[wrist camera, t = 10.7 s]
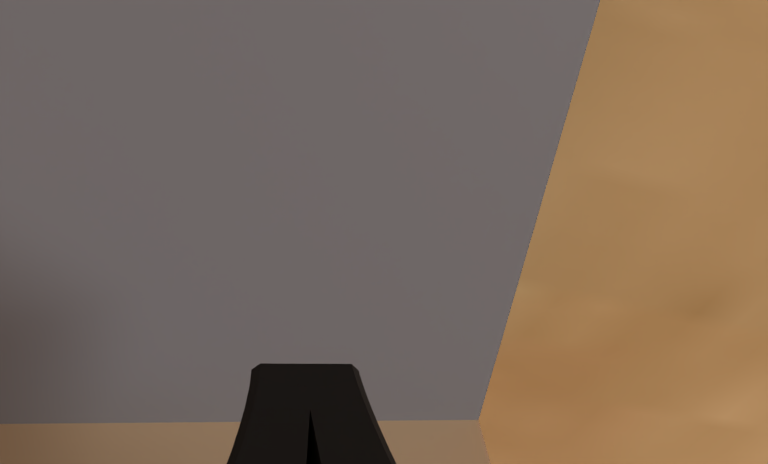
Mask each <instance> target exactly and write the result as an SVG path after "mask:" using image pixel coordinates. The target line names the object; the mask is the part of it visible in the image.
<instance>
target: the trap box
mask: <svg viewBox="0 0 768 464" xmlns="http://www.w3.org/2000/svg"><path fill="white" fill-rule="evenodd" d="M599 2H600V0H0V464H227V461H228V459H229V456H230V454H231V451H232V448H233V445H234V441H235V438H236V435H237V432H238V429H239V426H240V423H241V419H242V416H243V412H244V408H245V404H246V400H247V395H248V391H249V385H250V377H251V370H252V369H253V368H255V367H256V366H257V365H259V364H260V363H271V364H352V365H353V366H354V367H355V368H357V369H358V370H359V374H360V377H361V380H362V383H363V386H364V389H365V392H366V394H367V397H368V400H369V402H370V405H371V408H372V410H373V413H374V415H375V417H376V420H377V422H378V425H379V427H380V429H381V431H382V434H383V436H384V438H385V440H386V443H387V445H388V447H389V449H390V451H391V453H392V456H393V458H394V460H395V462H396V464H491V463H490V460H489V456H488V453H487V449H486V445H485V442H484V438H483V435H482V431H481V428H480V424H479V421H478V419H479V416H480V412H481V409H482V405H483V402H484V399H485V395H486V392H487V388H488V385H489V381H490V378H491V374H492V371H493V367H494V364H495V361H496V357H497V354H498V350H499V347H500V343H501V340H502V336H503V333H504V330H505V326H506V323H507V319H508V316H509V312H510V309H511V305H512V302H513V299H514V295H515V292H516V288H517V285H518V281H519V278H520V274H521V271H522V268H523V264H524V261H525V257H526V254H527V250H528V247H529V243H530V240H531V237H532V233H533V230H534V226H535V223H536V219H537V216H538V212H539V209H540V206H541V202H542V199H543V195H544V192H545V188H546V185H547V181H548V178H549V175H550V171H551V168H552V164H553V161H554V157H555V154H556V150H557V147H558V143H559V140H560V137H561V133H562V130H563V126H564V123H565V119H566V116H567V112H568V109H569V106H570V102H571V99H572V95H573V92H574V88H575V85H576V81H577V78H578V75H579V71H580V68H581V64H582V61H583V57H584V54H585V50H586V47H587V44H588V40H589V37H590V33H591V30H592V26H593V23H594V19H595V16H596V13H597V9H598V6H599Z"/></svg>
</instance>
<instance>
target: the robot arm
mask: <svg viewBox="0 0 768 464" xmlns="http://www.w3.org/2000/svg"><path fill="white" fill-rule="evenodd" d="M227 464H396V462H395V460H394V458H393V456H392V453H391V451H390V449H389V447H388V445H387V443H386V440H385V438H384V436H383V434H382V431H381V429H380V427H379V425H378V422H377V420H376V417H375V415H374V413H373V410H372V408H371V405H370V402H369V400H368V397H367V394H366V392H365V389H364V386H363V383H362V380H361V377H360V374H359V370H358V369H357V368H355V367H354V366H353V365H352V364H271V363H260V364H259V365H257V366H256V367H255V368H253V369H252V370H251V377H250V385H249V391H248V395H247V400H246V404H245V408H244V412H243V416H242V419H241V423H240V426H239V429H238V432H237V435H236V438H235V441H234V445H233V448H232V451H231V454H230V456H229V459H228V461H227Z"/></svg>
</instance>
